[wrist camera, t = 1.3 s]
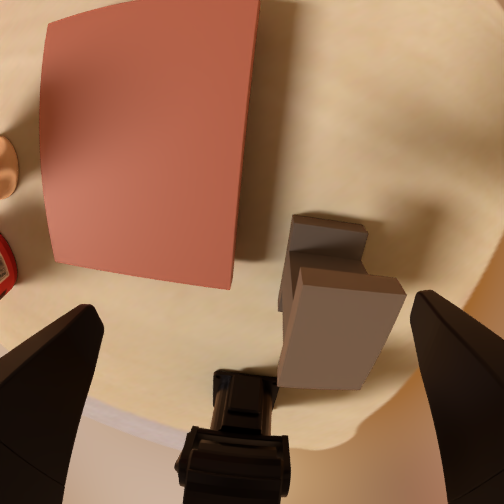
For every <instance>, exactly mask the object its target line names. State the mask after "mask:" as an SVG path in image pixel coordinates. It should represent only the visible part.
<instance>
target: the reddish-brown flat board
mask: <svg viewBox="0 0 504 504" xmlns="http://www.w3.org/2000/svg"><path fill="white" fill-rule="evenodd" d="M259 11H260V0H136V1H131V2H125V3H120V4H115V5H111V6H106V7H102V8H98V9H94V10H90V11H87V12H83V13H80V14H76V15H73V16H70V17H67V18H64V19H61V20H58V21H55V22H52V23H49V24H48V28H47V34H46V40H45V47H44V54H43V63H42V73H41V86H40V109H39V137H40V160H41V174H42V184H43V193H44V202H45V209H46V216H47V222H48V228H49V234H50V239H51V244H52V249H53V254H54V259H55V262H59V263H64V264H69V265H75V266H80V267H85V268H91V269H96V270H102V271H108V272H113V273H119V274H125V275H131V276H137V277H144V278H150V279H156V280H163V281H169V282H176V283H183V284H189V285H196V286H204V287H211V288H218V289H226V290H230V287H231V283H232V279H233V269H234V256H235V245H236V233H237V221H238V210H239V199H240V188H241V178H242V167H243V157H244V147H245V137H246V127H247V117H248V107H249V98H250V89H251V80H252V71H253V62H254V53H255V44H256V36H257V27H258V19H259Z"/></svg>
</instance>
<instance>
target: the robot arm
mask: <svg viewBox="0 0 504 504" xmlns="http://www.w3.org/2000/svg"><path fill="white" fill-rule="evenodd" d="M410 324H411V328H412V333H413V337H414V342H415V347H416V352H417V357H418V362H419V367H420V372H421V376H422V379H423V383H424V387H425V390H426V394H427V397H428V401H429V405H430V409H431V413H432V417H433V421H434V426H435V430H436V435H437V439H438V444H439V449H440V454H441V460H442V465H443V472H444V478H445V485H446V492H447V500H448V504H504V340H503V339H502V338H501V337H499V336H498V335H496V334H495V333H494V332H492V331H491V330H490V329H488V328H487V327H485V326H484V325H482V324H481V323H480V322H478V321H477V320H476V319H474V318H473V317H471V316H469V315H468V314H467V313H466V312H464V311H463V310H461V309H460V308H458V307H457V306H455V305H454V304H452V303H451V302H449V301H448V300H446V299H445V298H443V297H442V296H440V295H439V294H437V293H436V292H434V291H433V290H423V291H419V292H417V294H416V296H415V300H414V303H413V307H412V311H411V315H410ZM103 334H104V325H103V323H102V321H101V319H100V317H99V315H98V313H97V311H96V309H95V307H94V306H93V305H91V304H80V305H78V306H77V307H75V308H74V309H72V310H71V311H69V312H68V313H66V314H65V315H63V316H61V317H60V318H58V319H57V320H55V321H54V322H52V323H51V324H49V325H48V326H46V327H45V328H43V329H42V330H40V331H39V332H37V333H36V334H34V335H33V336H31V337H30V338H29V339H27V340H26V341H24V342H23V343H21V344H20V345H18V346H17V347H15V348H14V349H13V350H11V351H10V352H8V353H7V354H5V355H4V356H3V357H1V358H0V504H62V501H63V495H64V489H65V483H66V477H67V472H68V467H69V463H70V458H71V454H72V450H73V446H74V442H75V438H76V433H77V429H78V426H79V422H80V419H81V415H82V412H83V408H84V405H85V401H86V398H87V395H88V391H89V388H90V385H91V382H92V379H93V375H94V371H95V367H96V363H97V359H98V354H99V350H100V346H101V342H102V338H103ZM278 390H279V387H277V378H275V377H264V376H255V375H246V374H238V373H230V372H223V371H215V372H214V376H213V407H214V411H213V416H212V422H211V427H210V429H204V428H199V427H197V426H192V429H191V432H189V433H187V436H186V441H185V444H184V448H183V450H182V452H181V454H180V455H179V457H178V459H177V461H176V463H175V467H174V468H175V470H176V471H177V473H178V477H179V484H180V486H183V487H185V489H184V497H183V504H280V501H281V497H286V496H287V495H288V491H289V486H290V478H291V467H290V453H289V442H288V435H282V436H271V415H272V410H273V407H274V403H275V400H276V397H277V393H278Z"/></svg>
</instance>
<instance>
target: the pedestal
mask: <svg viewBox="0 0 504 504" xmlns="http://www.w3.org/2000/svg"><path fill="white" fill-rule="evenodd" d="M367 236H368V232H367V231H366V229H365V228H364V226H363V225H359V224H353V223H346V222H340V221H333V220H326V219H319V218H312V217H305V216H297V215H293V216H292V222H291V228H290V234H289V240H288V246H287V252H286V257H285V263H284V269H283V274H282V280H281V286H280V291H279V296H278V311H279V312H283V347H282V351H281V355H280V359H279V363H278V368H277V387H289V388H304V389H327V390H360V389H361V387H362V385H363V384H364V382H365V380H366V378H367V377H368V375H369V373H370V371H371V369H372V367H373V366H374V364H375V362H376V360H377V358H378V356H379V354H380V352H381V350H382V348H383V346H384V344H385V342H386V340H387V338H388V336H389V334H390V332H391V330H392V328H393V325H394V323H395V321H396V319H397V317H398V314H399V312H400V310H401V308H402V305H403V303H404V301H405V298H406V296H407V294H406V293H405V291H404V289H403V288H402V286H401V284H400V283H399V281H398V279H397V278H393V277H384V276H375V275H368V274H367V272H366V270H365V268H364V266H363V264H362V262H361V258H362V254H363V251H364V247H365V244H366V240H367Z"/></svg>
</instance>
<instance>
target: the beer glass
mask: <svg viewBox="0 0 504 504" xmlns="http://www.w3.org/2000/svg"><path fill="white" fill-rule="evenodd" d="M18 175H19V166H18V159H17V155H16V152H15V150H14V147H13V146H12V144H11V143H10V141H9V140H8V139H6V138H5V137H2V136H0V200H2V199H5V198H7V197H9V196H10V195H11V194H12V193H13V192H14V190H15V188H16V186H17V182H18Z"/></svg>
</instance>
